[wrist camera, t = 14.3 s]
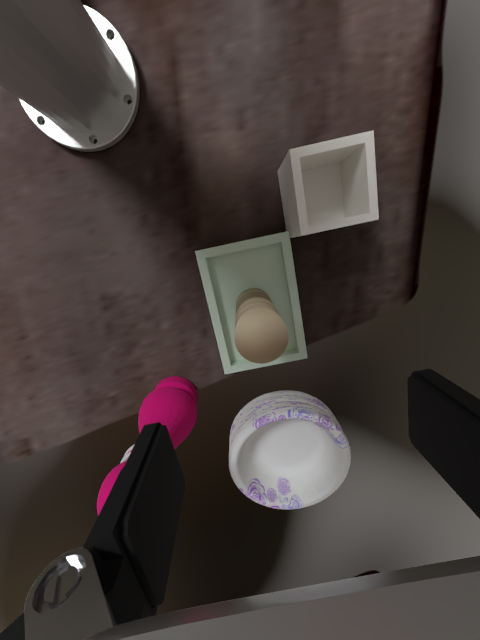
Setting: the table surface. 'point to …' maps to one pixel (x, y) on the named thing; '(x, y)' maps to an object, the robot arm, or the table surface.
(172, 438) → the pepper mill
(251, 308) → the beige ringed cylinder
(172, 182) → the table surface
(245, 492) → the paper bowls
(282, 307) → the tray
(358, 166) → the box
